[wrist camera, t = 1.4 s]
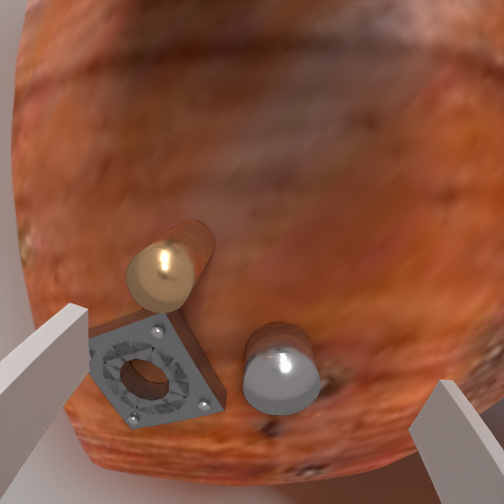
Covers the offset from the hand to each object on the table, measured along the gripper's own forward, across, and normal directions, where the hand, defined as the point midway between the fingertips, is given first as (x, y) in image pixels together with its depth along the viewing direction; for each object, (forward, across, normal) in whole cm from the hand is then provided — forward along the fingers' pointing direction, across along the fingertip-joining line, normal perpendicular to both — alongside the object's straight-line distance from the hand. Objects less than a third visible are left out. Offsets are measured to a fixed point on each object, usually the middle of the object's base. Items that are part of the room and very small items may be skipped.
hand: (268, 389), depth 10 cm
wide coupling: (+18, +4, -10) cm, 21 cm away
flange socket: (+18, -8, -15) cm, 25 cm away
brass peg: (+18, -6, -1) cm, 19 cm away
